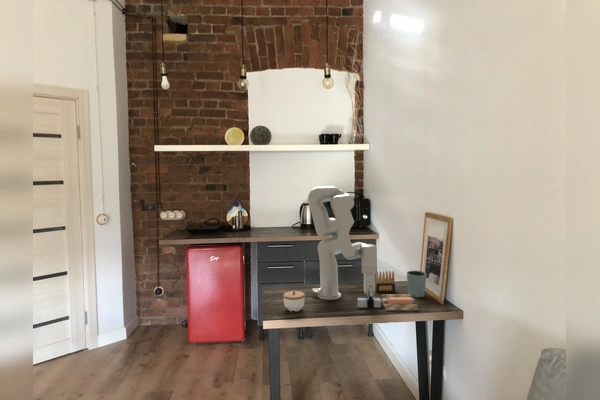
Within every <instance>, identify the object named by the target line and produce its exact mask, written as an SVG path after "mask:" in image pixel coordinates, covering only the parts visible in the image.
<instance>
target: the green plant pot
mask: <svg viewBox="0 0 600 400" xmlns="http://www.w3.org/2000/svg"><path fill="white" fill-rule="evenodd" d="M426 282H427V273H426V272H425V271H422V270H409V271H406V283H407V284H406V285H407V294H411V298H422V297H425V293H426V284H427V283H426Z"/></svg>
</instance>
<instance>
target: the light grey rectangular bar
mask: <svg viewBox="0 0 600 400" xmlns="http://www.w3.org/2000/svg"><path fill="white" fill-rule="evenodd" d="M367 299H368V298H366V297H357V307H358V308H368V307H367ZM373 299H374V307H373V308H381V307H383V306H384V304H383V300H382V299H381V298H380V297H373Z"/></svg>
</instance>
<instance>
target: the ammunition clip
mask: <svg viewBox="0 0 600 400" xmlns="http://www.w3.org/2000/svg"><path fill="white" fill-rule="evenodd" d="M395 281H396V280H395V271H394V270H392V272H391V270H389V272H388V271H387V270H386V271H384V270H383V271H381V270H380V271H379V272H378V270H377V273H376V274H375V293H376V294H377V293H378V294H379V293H380V294H381V293H396V282H395Z"/></svg>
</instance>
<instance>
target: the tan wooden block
mask: <svg viewBox="0 0 600 400" xmlns="http://www.w3.org/2000/svg"><path fill="white" fill-rule="evenodd" d="M412 298H413V297H412V296H411V297H389V304H416V300H415V298H413V299H412Z"/></svg>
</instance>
